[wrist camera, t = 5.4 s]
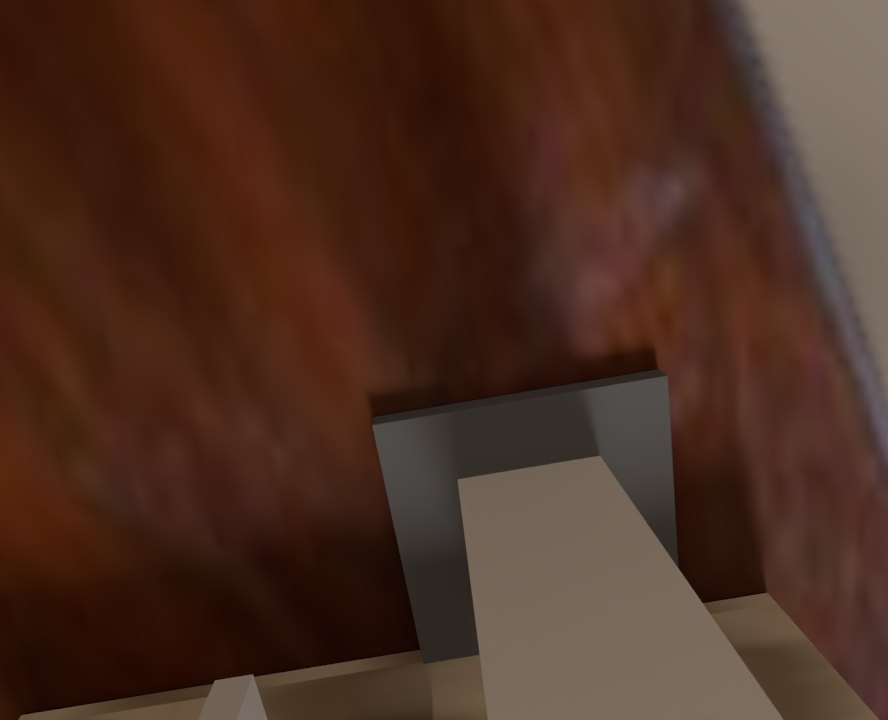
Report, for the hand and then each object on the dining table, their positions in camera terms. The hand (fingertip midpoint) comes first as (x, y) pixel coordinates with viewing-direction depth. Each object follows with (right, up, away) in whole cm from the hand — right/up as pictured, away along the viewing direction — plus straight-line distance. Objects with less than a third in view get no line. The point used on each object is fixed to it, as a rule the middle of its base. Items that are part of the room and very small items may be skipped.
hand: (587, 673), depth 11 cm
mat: (0, +2, +6) cm, 6 cm away
